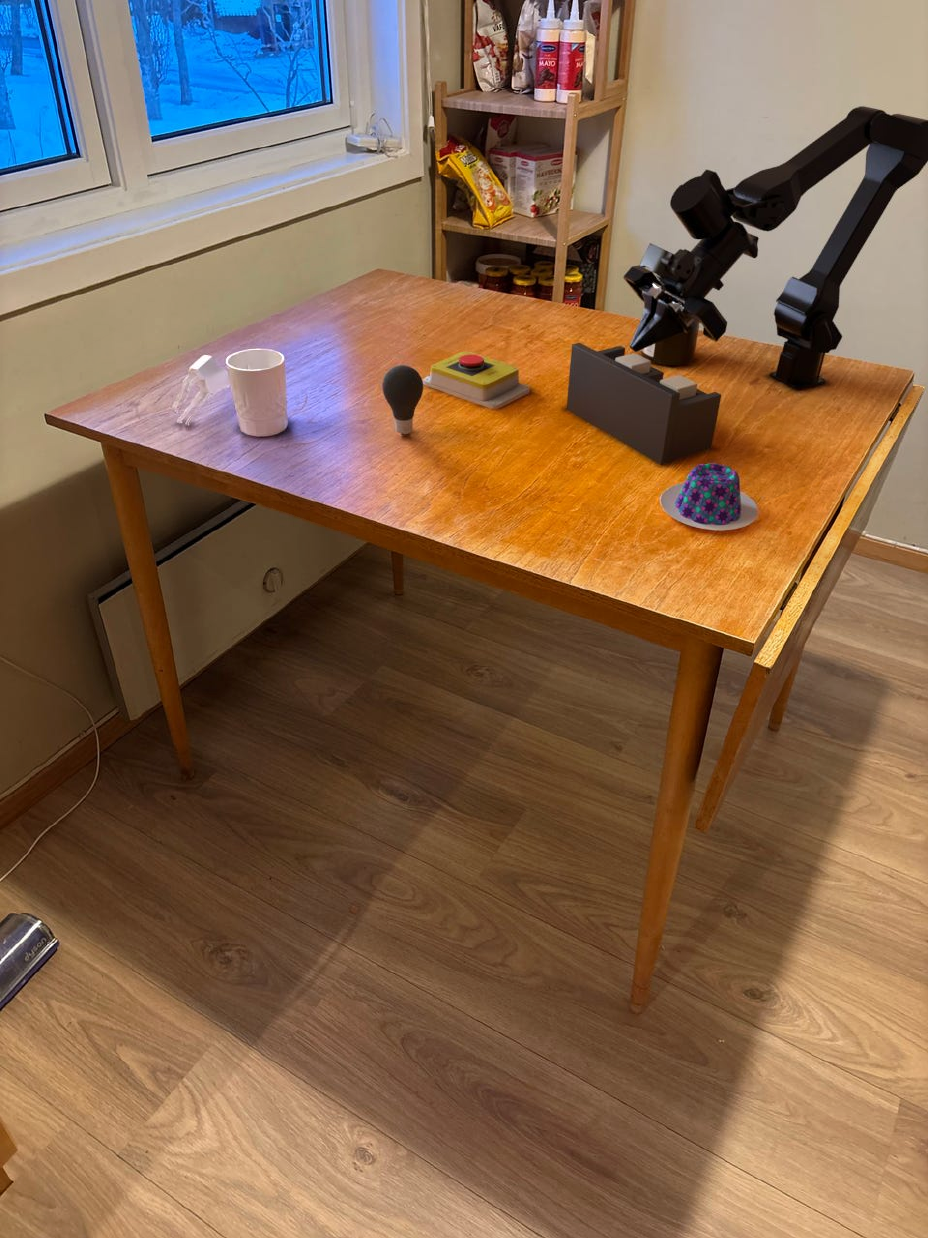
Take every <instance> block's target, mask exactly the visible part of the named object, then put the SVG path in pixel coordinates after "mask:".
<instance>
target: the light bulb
mask: <svg viewBox="0 0 928 1238" xmlns="http://www.w3.org/2000/svg"><path fill="white" fill-rule="evenodd" d="M381 384H382V393H383V397H384V398H385V400H386V402H387V404H388V405H389V407H390V408H391V411H392V415H393V418H394V428H395V431H396V432H397V433H398V434H400V435H401V436H403V437H405V436H407V435H408V434H410V432H411V433H412V431H413V427H414V424H413V423H414V422H413V421H414V419H413V418H414V415H415V410H416V408H417V406H418V404H419V402H420V401H421V399H422V396H423V392H424V384H423V379H422V376H421V374H420V373H419V372H418V371H417V370H416V369H415V368H413V367H412V366H410V365H405V364H399V365H396V366H393V367H392V368H390V369H389V370H388V371H387V372H386V373H385V374H384V377H383V380H382V383H381Z"/></svg>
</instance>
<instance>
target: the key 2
mask: <svg viewBox="0 0 928 1238" xmlns="http://www.w3.org/2000/svg"><path fill="white" fill-rule="evenodd" d="M660 383H661V384H663V385H665V386H667V387H669V388H671V389H673V390H675V391H677V392H679V393H680V396H679V400H681V399H685V398H688V397H692V396H695V395H696V390H697V389H698V383H697V382H695V381H693V380H691V379H689V378H686V377H685V376H683V375H680V374H677V375H674V376H669V377H665V378H663V379H662V380H660Z"/></svg>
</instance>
